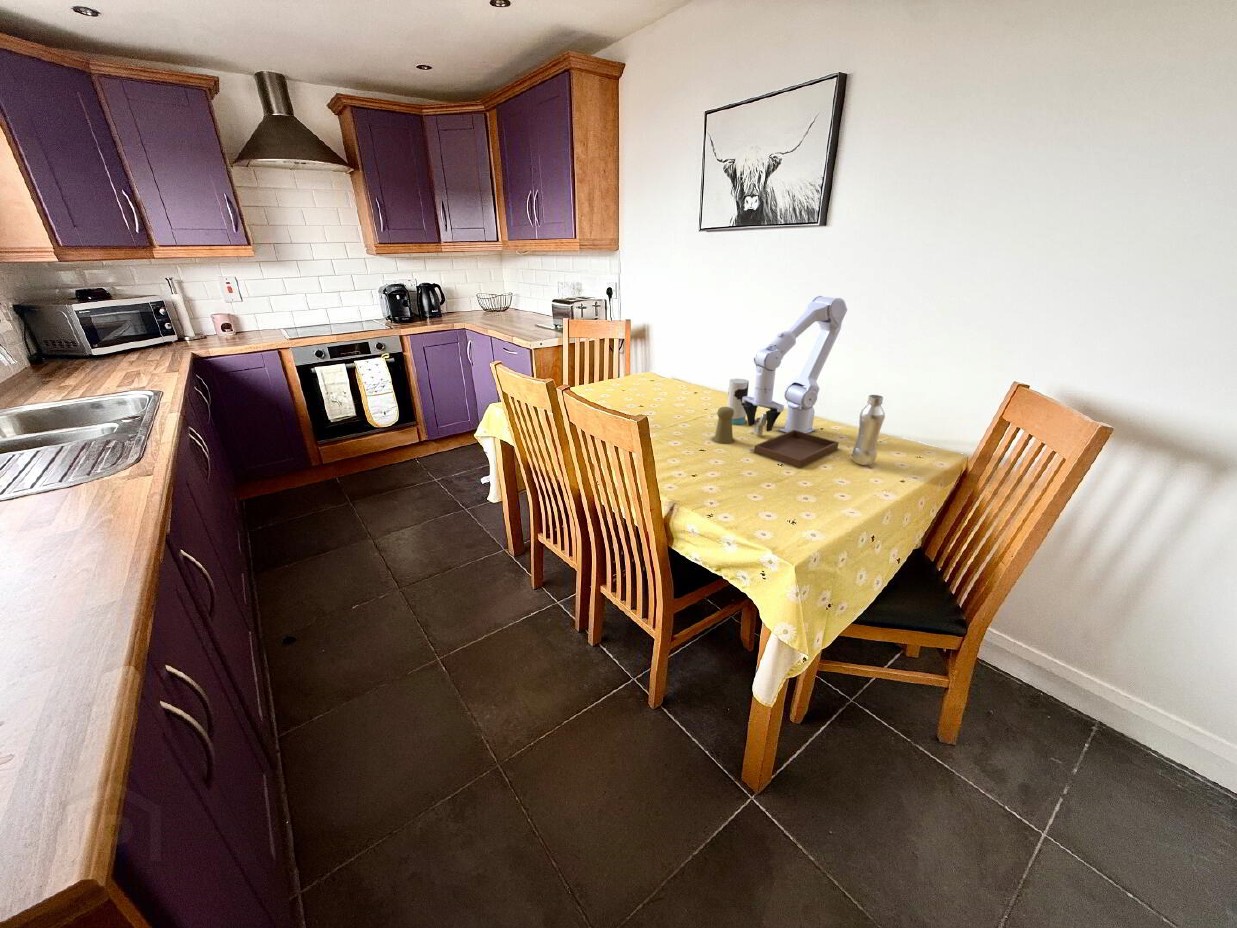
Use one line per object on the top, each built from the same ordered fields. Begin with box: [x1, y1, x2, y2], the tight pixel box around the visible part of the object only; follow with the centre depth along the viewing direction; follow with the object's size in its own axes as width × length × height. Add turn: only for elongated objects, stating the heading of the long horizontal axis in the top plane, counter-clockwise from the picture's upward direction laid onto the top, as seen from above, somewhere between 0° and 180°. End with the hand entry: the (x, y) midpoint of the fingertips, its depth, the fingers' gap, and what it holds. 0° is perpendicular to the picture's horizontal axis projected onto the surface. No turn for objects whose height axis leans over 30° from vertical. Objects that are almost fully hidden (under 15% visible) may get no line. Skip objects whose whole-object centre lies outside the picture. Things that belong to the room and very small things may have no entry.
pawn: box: [713, 406, 734, 444], centre depth 162 cm, size 6×6×11 cm
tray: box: [753, 430, 839, 469], centre depth 154 cm, size 22×16×2 cm
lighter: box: [752, 413, 767, 437], centre depth 164 cm, size 7×2×8 cm, turn 6°
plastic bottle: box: [851, 394, 886, 466], centre depth 141 cm, size 6×7×20 cm
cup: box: [726, 378, 750, 426], centre depth 178 cm, size 7×7×15 cm
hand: (759, 428), depth 165 cm, fingers closed on lighter, 6 cm apart
